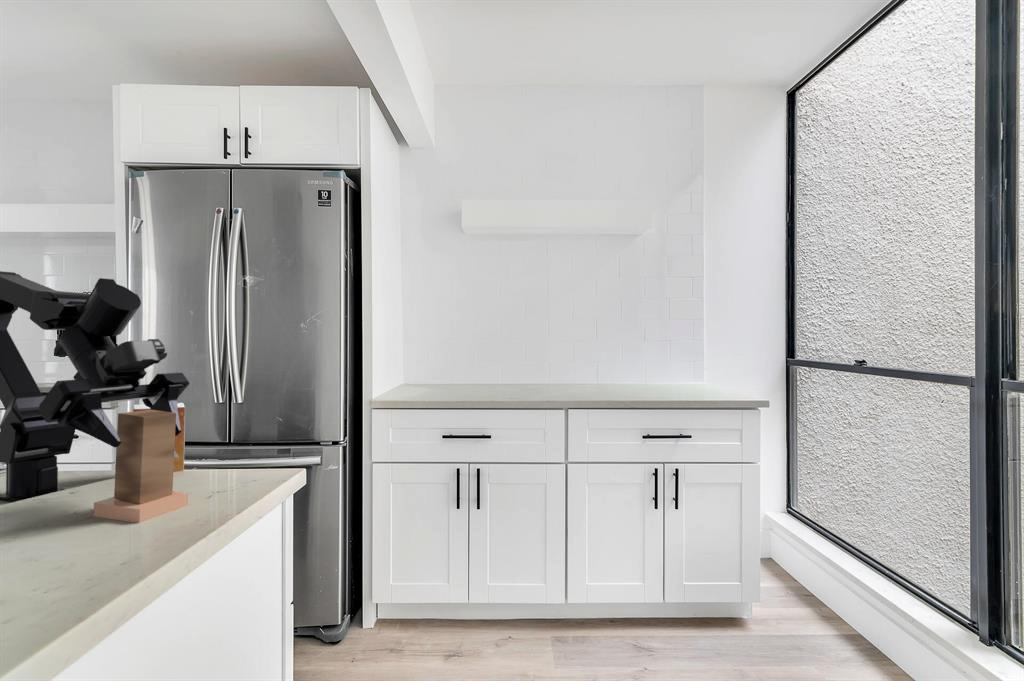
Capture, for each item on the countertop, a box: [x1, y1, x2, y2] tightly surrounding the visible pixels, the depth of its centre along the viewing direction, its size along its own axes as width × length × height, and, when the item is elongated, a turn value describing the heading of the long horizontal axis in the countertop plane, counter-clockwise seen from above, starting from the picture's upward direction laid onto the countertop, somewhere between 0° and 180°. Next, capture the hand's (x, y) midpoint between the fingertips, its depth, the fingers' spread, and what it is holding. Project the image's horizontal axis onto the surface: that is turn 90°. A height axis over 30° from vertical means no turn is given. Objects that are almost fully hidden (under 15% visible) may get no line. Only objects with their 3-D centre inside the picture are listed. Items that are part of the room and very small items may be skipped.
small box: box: [132, 402, 186, 473], centre depth 105 cm, size 8×6×13 cm
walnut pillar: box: [113, 410, 176, 504], centre depth 82 cm, size 5×5×12 cm
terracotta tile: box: [93, 490, 189, 524], centre depth 82 cm, size 8×8×2 cm
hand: (150, 439), depth 81 cm, fingers open, 9 cm apart
